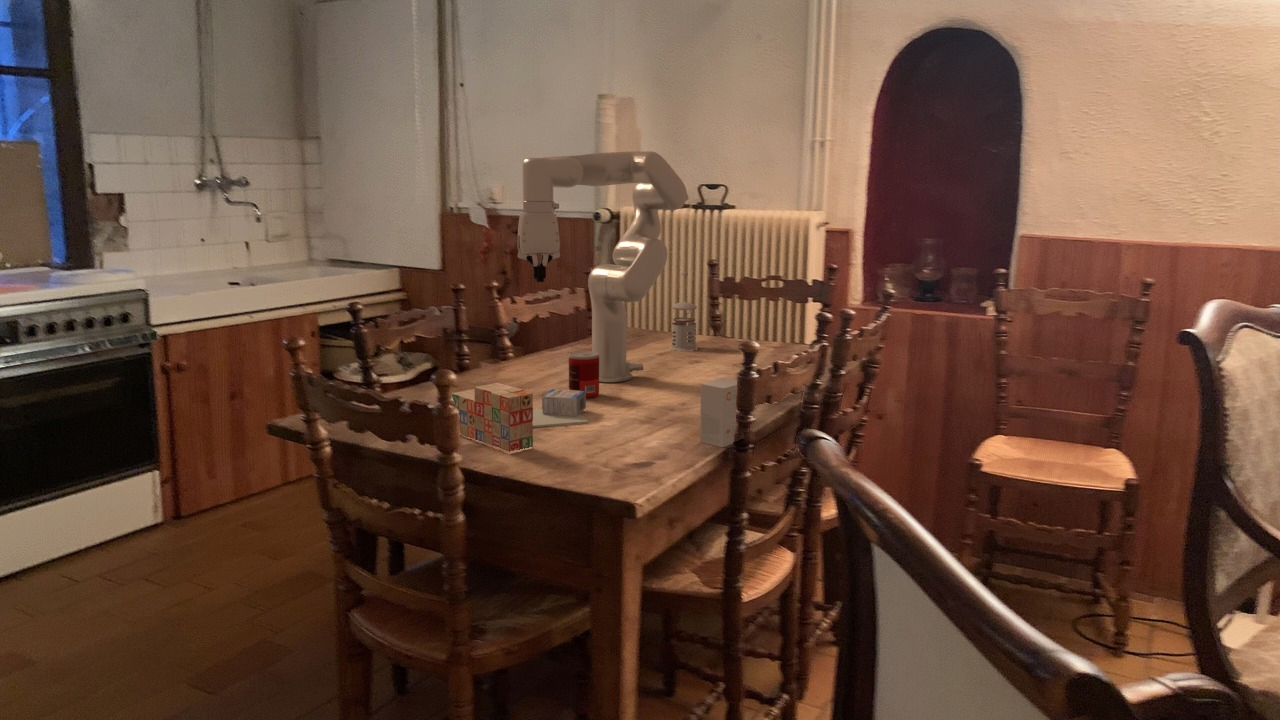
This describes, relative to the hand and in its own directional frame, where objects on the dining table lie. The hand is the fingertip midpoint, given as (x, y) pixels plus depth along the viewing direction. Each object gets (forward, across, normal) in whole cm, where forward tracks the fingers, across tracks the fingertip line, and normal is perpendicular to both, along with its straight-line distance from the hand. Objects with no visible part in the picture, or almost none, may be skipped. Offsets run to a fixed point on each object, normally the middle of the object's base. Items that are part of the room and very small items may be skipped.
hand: (539, 281), depth 239 cm
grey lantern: (+29, -58, -48) cm, 81 cm away
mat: (+29, +5, +25) cm, 39 cm away
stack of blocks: (+29, +19, +40) cm, 53 cm away
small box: (+29, -28, +54) cm, 67 cm away
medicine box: (+26, -5, +24) cm, 36 cm away
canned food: (+29, -10, +6) cm, 32 cm away
